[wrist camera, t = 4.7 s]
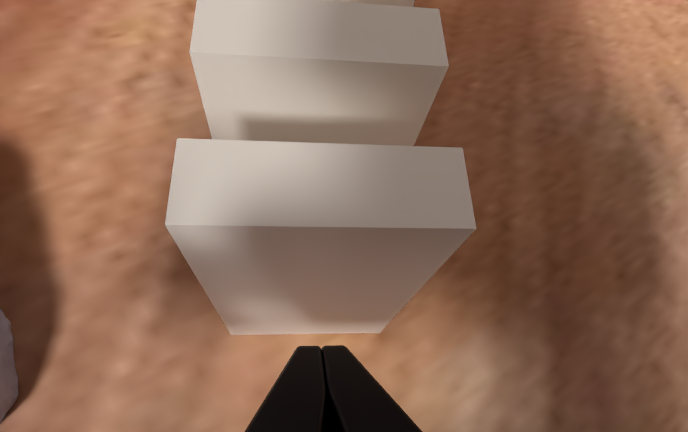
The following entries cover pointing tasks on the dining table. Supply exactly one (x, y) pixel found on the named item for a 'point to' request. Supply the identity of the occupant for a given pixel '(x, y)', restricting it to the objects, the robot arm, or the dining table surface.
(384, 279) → the domino
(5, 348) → the stone block
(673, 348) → the dining table surface
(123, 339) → the dining table surface
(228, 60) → the domino
